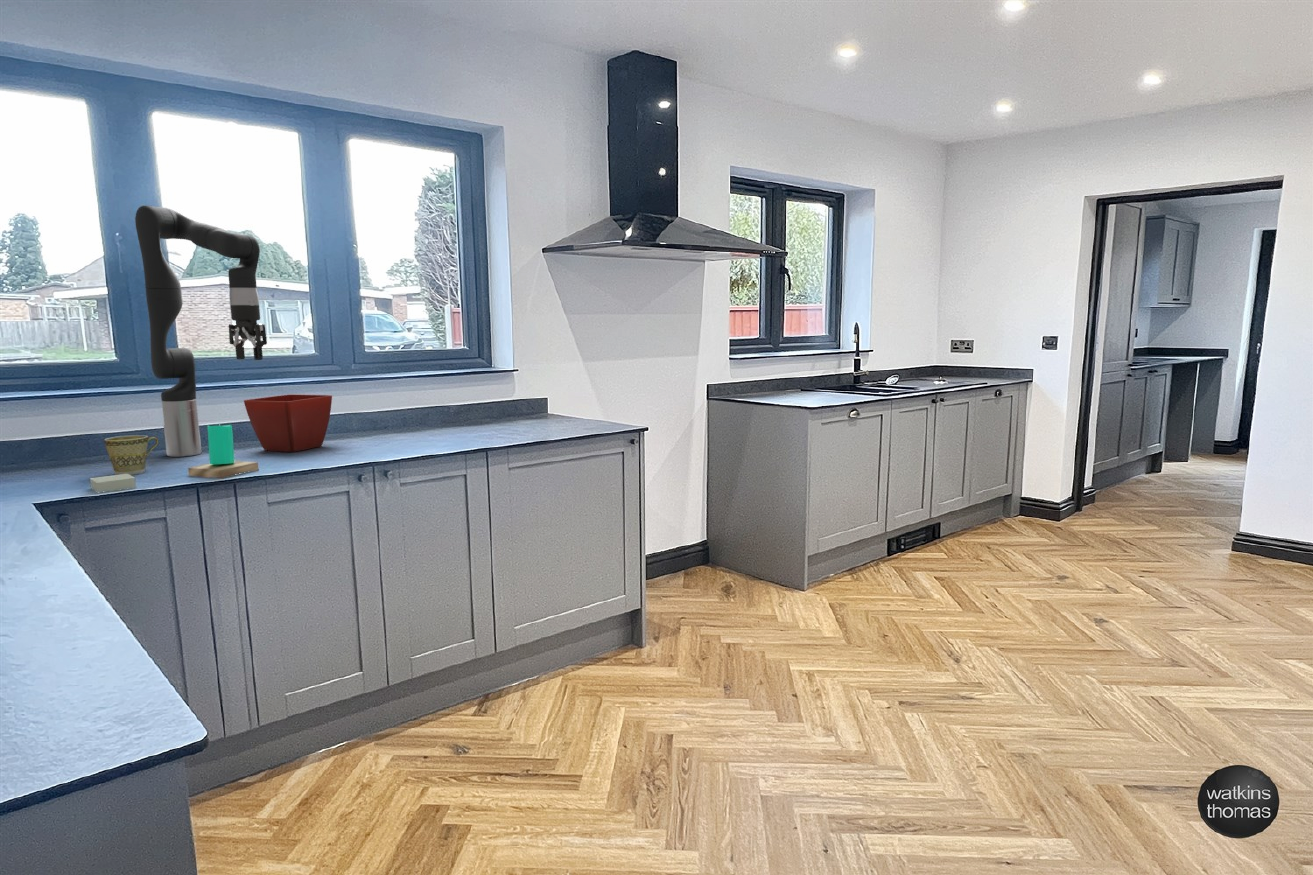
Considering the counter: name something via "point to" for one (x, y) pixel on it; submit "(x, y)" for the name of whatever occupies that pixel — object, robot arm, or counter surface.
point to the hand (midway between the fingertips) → (249, 359)
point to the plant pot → (290, 421)
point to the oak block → (222, 469)
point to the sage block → (112, 482)
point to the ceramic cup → (128, 453)
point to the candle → (220, 444)
